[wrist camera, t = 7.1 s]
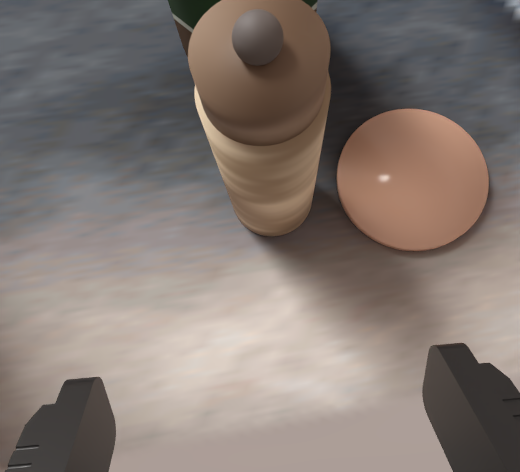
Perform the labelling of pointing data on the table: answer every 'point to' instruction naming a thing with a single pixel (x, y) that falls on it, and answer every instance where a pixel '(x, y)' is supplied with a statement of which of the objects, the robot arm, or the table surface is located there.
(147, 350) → the table surface
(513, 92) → the table surface
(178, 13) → the beer bottle
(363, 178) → the saucer
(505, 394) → the robot arm
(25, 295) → the table surface
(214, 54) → the pepper mill
